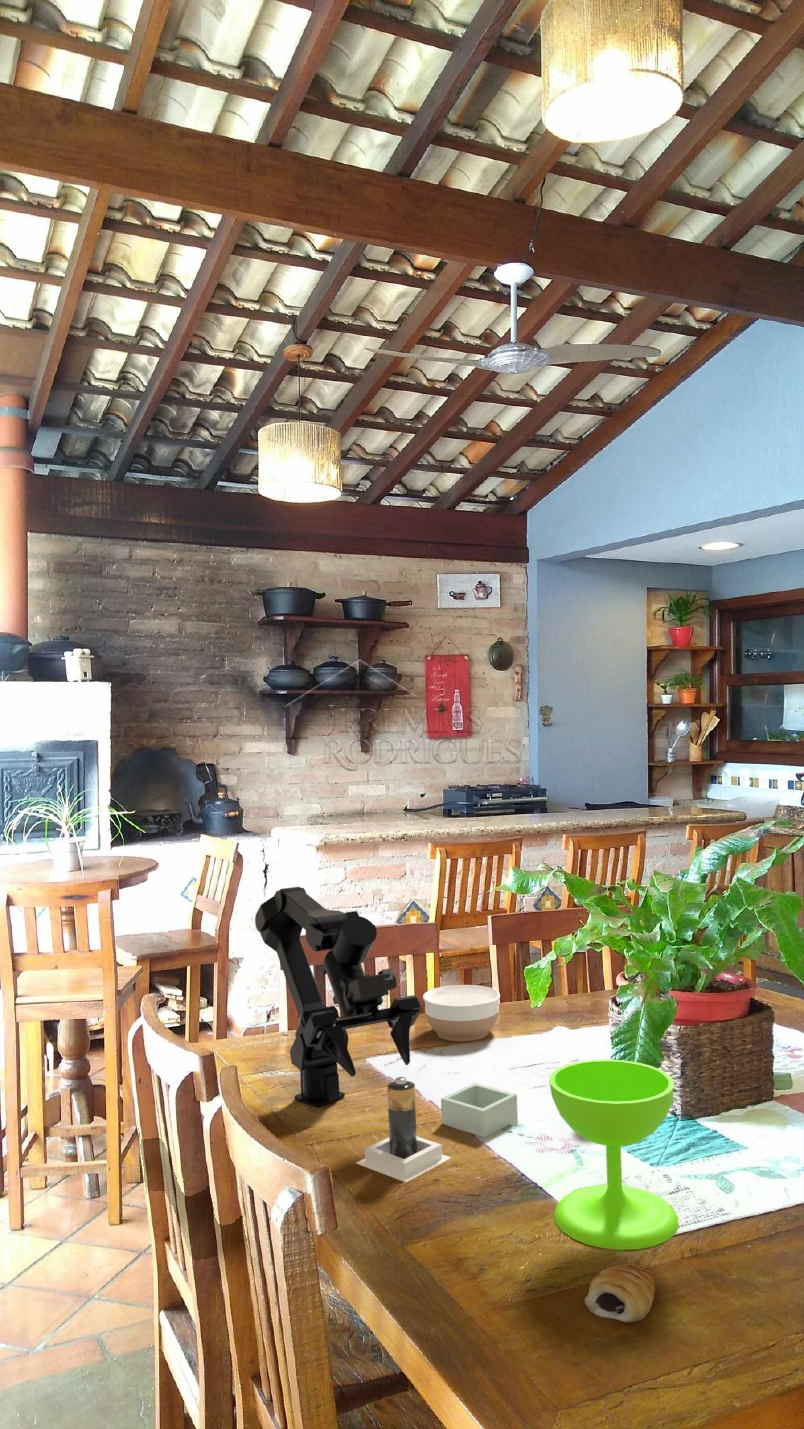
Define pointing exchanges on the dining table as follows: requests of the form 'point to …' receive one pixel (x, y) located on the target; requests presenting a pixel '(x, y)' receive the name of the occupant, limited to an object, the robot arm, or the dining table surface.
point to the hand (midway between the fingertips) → (381, 1069)
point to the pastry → (622, 1293)
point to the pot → (479, 1109)
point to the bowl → (462, 1011)
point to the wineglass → (614, 1150)
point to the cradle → (399, 1167)
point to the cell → (402, 1118)
